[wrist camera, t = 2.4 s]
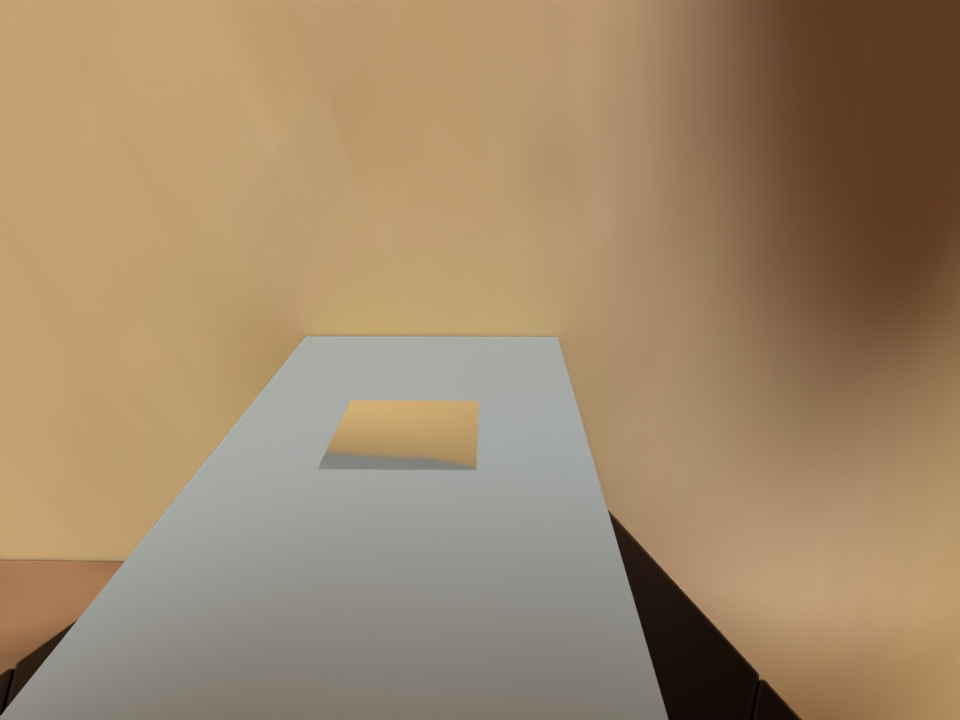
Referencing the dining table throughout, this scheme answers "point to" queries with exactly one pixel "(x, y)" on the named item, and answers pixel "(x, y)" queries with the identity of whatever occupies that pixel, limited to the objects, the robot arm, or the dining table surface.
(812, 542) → the dining table surface
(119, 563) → the board
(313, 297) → the dining table surface
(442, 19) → the dining table surface
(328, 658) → the light blue block
